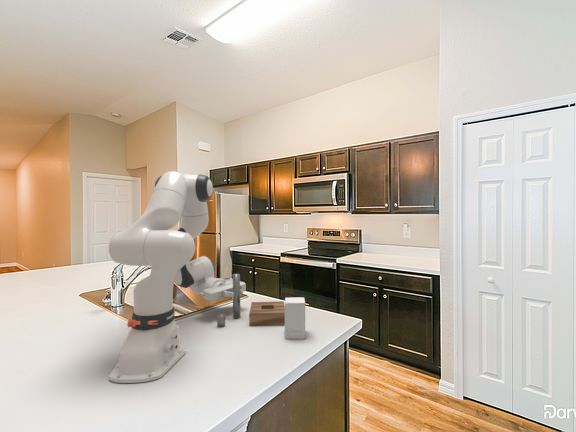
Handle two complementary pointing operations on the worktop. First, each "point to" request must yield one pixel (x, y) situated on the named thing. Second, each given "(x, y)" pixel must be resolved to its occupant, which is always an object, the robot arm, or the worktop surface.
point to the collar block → (267, 313)
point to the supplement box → (295, 318)
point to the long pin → (236, 296)
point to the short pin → (221, 320)
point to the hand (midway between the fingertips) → (237, 293)
